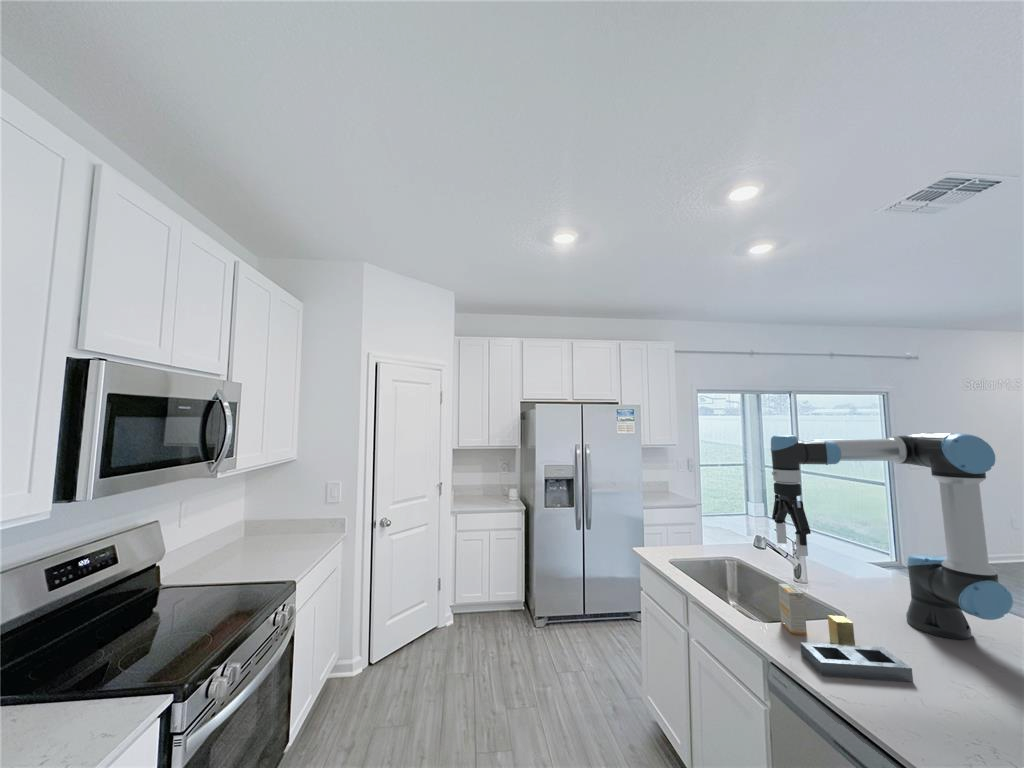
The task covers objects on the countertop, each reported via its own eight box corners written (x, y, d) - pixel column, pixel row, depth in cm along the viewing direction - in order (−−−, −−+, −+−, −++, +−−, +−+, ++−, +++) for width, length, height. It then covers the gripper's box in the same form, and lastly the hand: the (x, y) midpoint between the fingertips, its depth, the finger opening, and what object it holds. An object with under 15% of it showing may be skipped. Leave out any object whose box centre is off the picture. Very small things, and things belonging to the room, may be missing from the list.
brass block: (845, 642, 130) (843, 616, 130) (855, 650, 125) (852, 622, 126) (830, 642, 130) (827, 615, 131) (839, 649, 126) (836, 622, 127)
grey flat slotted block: (884, 660, 120) (882, 647, 120) (913, 682, 110) (911, 668, 110) (801, 654, 123) (800, 642, 124) (822, 675, 113) (820, 662, 113)
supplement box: (807, 635, 134) (804, 593, 136) (791, 634, 135) (788, 592, 137) (796, 623, 142) (793, 583, 144) (780, 622, 143) (777, 582, 145)
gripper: (758, 477, 150) (763, 538, 147) (793, 488, 125) (798, 560, 123) (781, 477, 148) (786, 538, 146) (820, 488, 124) (826, 562, 122)
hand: (791, 549), depth 135 cm, fingers open, 13 cm apart
